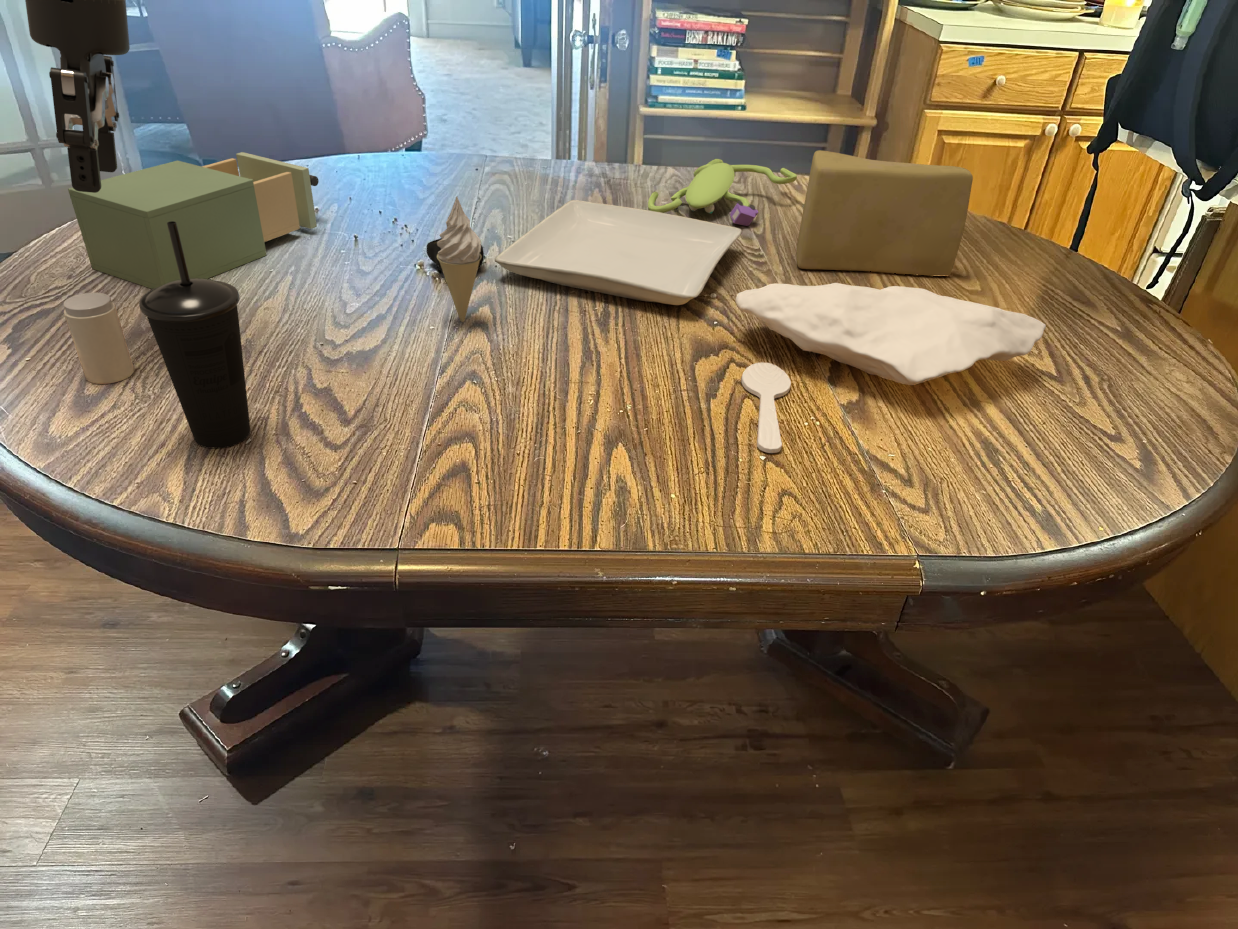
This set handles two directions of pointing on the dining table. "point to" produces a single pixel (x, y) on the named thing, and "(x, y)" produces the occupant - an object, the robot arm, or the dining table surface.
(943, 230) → the brown rectangular block
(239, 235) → the cabinet
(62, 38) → the robot arm
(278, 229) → the drawer
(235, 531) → the dining table surface
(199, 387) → the drinking cup
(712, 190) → the figurine
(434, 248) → the tape measure
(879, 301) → the white rock slab
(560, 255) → the square plate
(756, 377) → the spoon
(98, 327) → the salt shaker
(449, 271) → the ice cream cone
